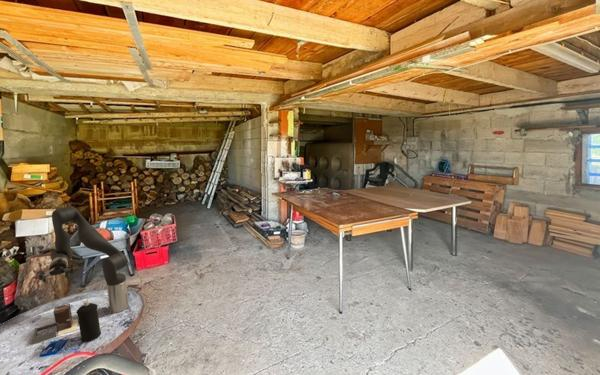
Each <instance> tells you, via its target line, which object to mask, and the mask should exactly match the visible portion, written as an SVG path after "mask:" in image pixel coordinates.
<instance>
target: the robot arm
mask: <svg viewBox="0 0 600 375" xmlns="http://www.w3.org/2000/svg"><path fill="white" fill-rule="evenodd" d="M51 221H52V226H53V227H52V228H53V230H54V231H53V232H54V238H55V240H54V248H55V249H52V251H51V252H50V259H51V263H50V265H49V268H48V270H47V271H44V270H41V271H40V272H39V274H38V280H39V281H42V282H43V283H46V282H47V280H48V279H51V278H53V277H55V276H58V275H64V277H65V278H68V277H69V276H70V274H74V272H75V271H74V270H75V268H74V265H73V264H71V265H70V266H68V265H69V264H68V262H69V261H70V260H72V258H73V255H74V253H73V249H72V247H71V234H69V232H67V231H66V230H65V229H64V228H63V226H64V225H65V224H66V225H67V224H69V223H71V222H74V223H75V224H76V225H77V227H78V232H77V237H78V240H79V241H80V243H81V244H82V245H84V246H85V248H87V249H90V250H92V251H96V252H100V253H103V254H105V255H106V256H107V257H105V258H104V259H103V260H102V263H101V265H102V266H101V267H102V268H101V269H102V271H103V272H102V273H103V277H104V280H105V284H106V289H107V298H108V305H109V306H108V307H109V311H110V313H112V314H117V313H121V312H123V311H125V310H127V309H129V308H130V304H129V294H128V287H127V286H128V285H127V277H126V274H124V273H120V272H118V271H119V270H122V269H123V268H126V267H127V266H128V263H129V260H128V258H127V256H126V255H125V254H124V253H123V252H122V251H121V250H119V249H118V248H117V247H116V246H114V245H113V244H112V243H110V242H109V241H108V240H107V239H106V238H105V237H104V236H103V235H102V234H101V233H100V232H99V231H98V230H97V229H96V228H94V227H93V225H92V224H91V223H90V222H88V221H87V219H85V217H84V216H83V215H82V214H81V212H80V211H79V210H78V209H77V208H76V207H75V206H72V205H69V206H64V207H61V208H58V209H55V210H53V211H52V212H51ZM117 272H118V273H117Z"/></svg>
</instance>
